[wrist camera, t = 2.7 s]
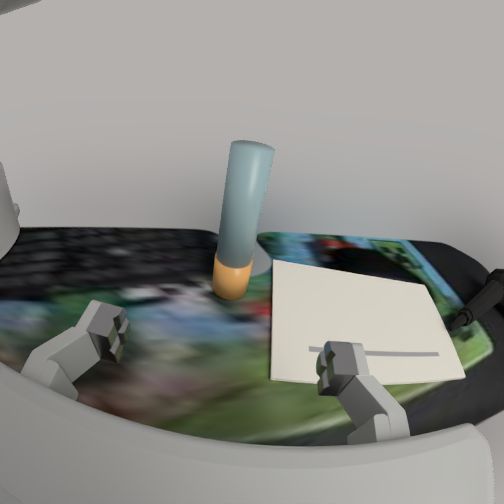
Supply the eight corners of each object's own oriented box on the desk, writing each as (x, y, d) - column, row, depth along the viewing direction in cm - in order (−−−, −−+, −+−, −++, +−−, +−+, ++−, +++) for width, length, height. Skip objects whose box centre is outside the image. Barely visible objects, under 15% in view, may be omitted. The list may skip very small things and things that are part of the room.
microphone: (442, 357, 25) (499, 304, 31) (478, 340, 20) (523, 287, 27) (424, 318, 28) (485, 277, 34) (457, 295, 23) (508, 258, 29)
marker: (209, 296, 24) (226, 148, 17) (215, 273, 27) (232, 137, 19) (245, 302, 24) (276, 156, 17) (248, 278, 27) (275, 145, 20)
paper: (270, 379, 19) (271, 377, 18) (272, 261, 30) (273, 259, 30) (463, 378, 19) (466, 376, 19) (423, 286, 31) (424, 285, 31)
